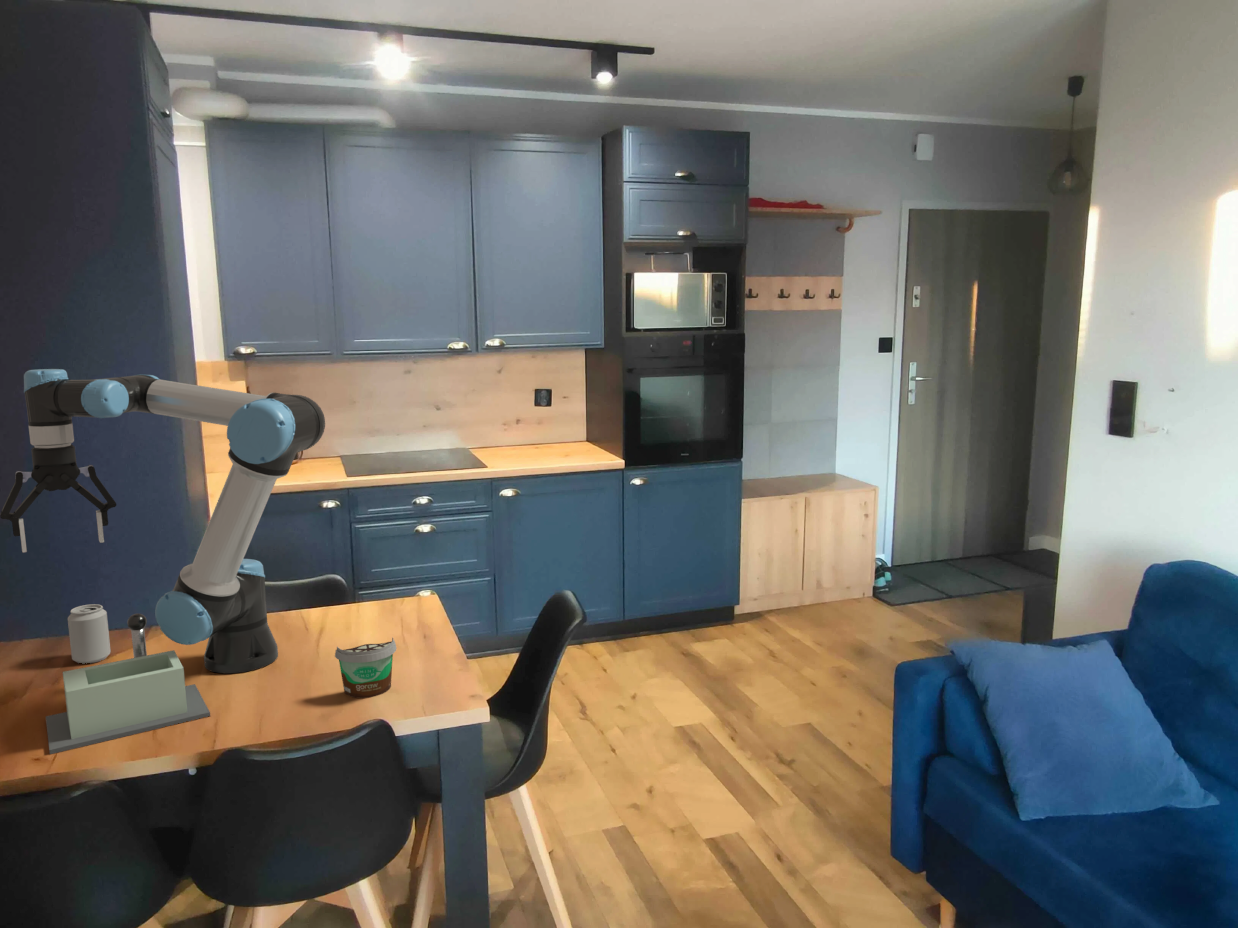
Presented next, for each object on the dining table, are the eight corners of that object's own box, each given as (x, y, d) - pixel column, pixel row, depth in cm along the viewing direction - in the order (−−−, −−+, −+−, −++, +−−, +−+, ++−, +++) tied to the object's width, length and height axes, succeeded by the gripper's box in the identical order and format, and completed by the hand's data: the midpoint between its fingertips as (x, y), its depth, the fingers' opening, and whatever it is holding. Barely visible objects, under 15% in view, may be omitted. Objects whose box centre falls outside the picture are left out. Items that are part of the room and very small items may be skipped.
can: (118, 653, 200) (113, 602, 198) (96, 665, 192) (90, 613, 190) (87, 651, 200) (82, 601, 198) (64, 664, 193) (58, 612, 191)
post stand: (154, 674, 188) (148, 608, 185) (157, 682, 184) (151, 614, 181) (127, 679, 185) (121, 612, 182) (130, 687, 181) (124, 619, 178)
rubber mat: (195, 687, 181) (195, 683, 181) (210, 715, 168) (210, 712, 168) (46, 720, 166) (45, 716, 166) (49, 754, 153) (49, 749, 153)
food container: (342, 704, 173) (339, 657, 171) (336, 693, 178) (334, 646, 177) (404, 692, 178) (402, 646, 177) (397, 681, 184) (395, 636, 182)
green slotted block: (177, 692, 177) (174, 650, 175) (187, 712, 168) (183, 667, 166) (67, 716, 166) (62, 671, 165) (71, 739, 157) (66, 691, 156)
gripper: (120, 438, 188) (129, 533, 192) (-23, 448, 174) (-10, 551, 178) (124, 442, 182) (133, 540, 186) (-23, 452, 168) (-10, 559, 172)
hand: (63, 546), depth 182 cm, fingers open, 13 cm apart
